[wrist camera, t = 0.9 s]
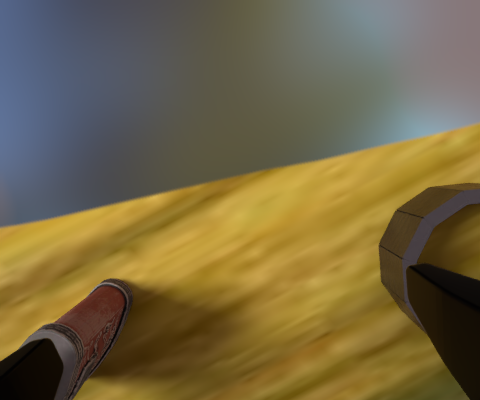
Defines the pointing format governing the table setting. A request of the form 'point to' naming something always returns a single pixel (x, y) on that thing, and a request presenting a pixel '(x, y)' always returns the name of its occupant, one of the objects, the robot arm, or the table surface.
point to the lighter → (87, 333)
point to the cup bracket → (417, 235)
